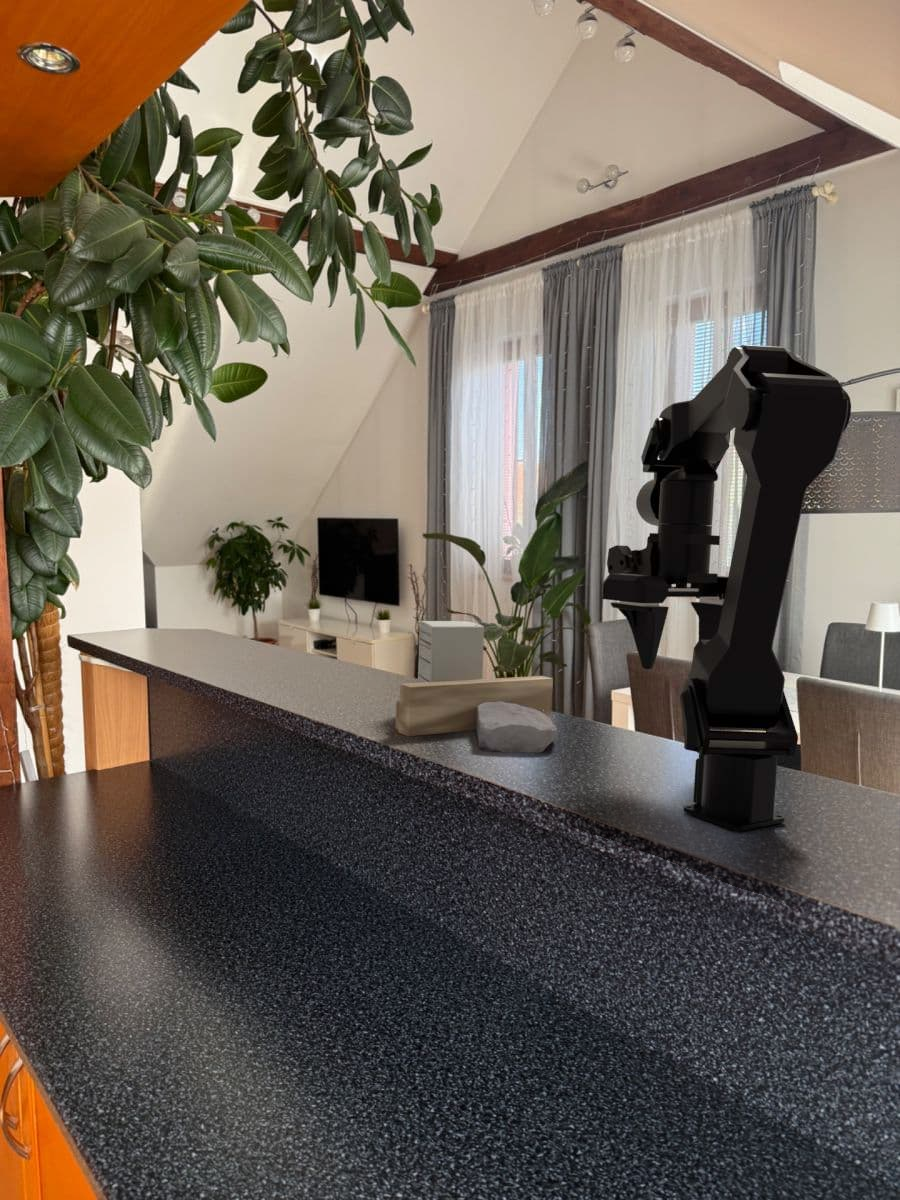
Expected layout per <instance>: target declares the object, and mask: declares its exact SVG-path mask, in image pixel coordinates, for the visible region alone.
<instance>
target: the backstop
mask: <svg viewBox="0 0 900 1200" xmlns="http://www.w3.org/2000/svg"><path fill="white" fill-rule="evenodd" d="M553 682H554V678H553V677H549V676H545V675H532V676H515V677H514V676H513V677H499V678H498V677H497V678H482V679H478V680H461V681H444V682H426V683H418V682H414V683H413V682H412V683H400V685H399V689H400V690H399V700H396V706H395V708H396V710H395V711H396V712H395V730H397V731H398V734H399V733H400V734H402V735H404V736H405V737H414V736H415V737H416V736H426V735H434V734H435V735H436V734H447V733H448V734H449V733H456V732H467V731H469V732H470V731H476V716H477V707H478V706H479V705H480V704H483V703H485V702H498V701H499V702H505V703H512V704H518V705H520V706H523V707H528V708H534V709H536V710H538V711H540V712H542V713H544V714H545V715H546V716H548V717H549V718H550V720H551V721H552V704H553V686H554V685H553V684H554V683H553ZM543 710H544V711H543Z"/></svg>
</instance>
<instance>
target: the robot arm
mask: <svg viewBox="0 0 900 1200" xmlns="http://www.w3.org/2000/svg"><path fill="white" fill-rule="evenodd" d="M851 412H852V402H851V397H850V395H849V393H848V392H847V391H846V390H845V389H844V388H843V387H842V386H841V384H840V381H839V380H838V379H837V378H836V377H834V376H832V375H831V374H830V373H828V372H827V371H825V370H823V369H821V368H818V367H815V366H814V365H811V364H809V363H807V362H805V361H804V360H803V361H802V360H800V359H799V358H798V357H797V356H796V354H795V353H794V352H793V351H792V350H789V349H786V348H785V347H783V346H776V345H775V346H773V345H771V346H770V345H757V344H756V345H755V344H742V345H740V346H734V347H732V348H731V350H730V351H729V353H728V356H727V358H726V363H725V364H724V365H723V367H721V369H720V370H719V371H717V372H716V373H715V375H714V376H713V377H712V378H711V379H710V381H708V383H707V384H706V385H705V386H703V388H702V389H701V390H700V391H699V392H698V393H697V394H696V396H695V397H694V398H692V399H690V400H685V401H680V402H678V401H677V402H674V403H672V404H670V405H668V406H667V407H665V408H664V409H663V410H662V411H661V413H660V414H659V417H656V418H655V419H654V421H653V423H652V424H653V425H652V427H650V429H649V432H648V434H647V438H646V440H645V444H644V446H643V447H644V448H643V450H642V454H641V457H640V459H641V464H642V472H643V473H653V479H650V480H649V481H647V482H645V484H644V485H642V486H641V488H640V489H639V491H638V494H637V496H636V500H635V501H636V502H635V505H636V509H637V512H638V514H639V516H640V517H641V519H642V520H643V521H644V522H646V523H647V524H649V525H652V526H655V527H657V533H656V532H652V533H651V532H650V533H649V536H647V539H646V547H645V548H642V549H633V550H631V548H630V547H629V546H628V545H619V544H617V545H614V546H612V547H610V548H608V552H607V553H608V554H607V559H606V565H607V573H608V575H607V576H606V578H605V579H603V583H602V598H601V599H602V600H606V601H612V602H610V606H611V607H612V608H614V609H618V610H619V612H620V613H621V614H622V615H623V616H624V617H625V618H626V620H627V622H628V625H629V627H630V630H631V633H632V635H633V636H632V637H633V639H634V643H635V647H636V650H637V652H638V653H637V654H638V656H639V661H640V664H641V667H642V669H644V670H652V669H653V667H654V665H655V662H656V659H657V655H658V651H659V648H660V643H661V640H662V636H663V631H664V628H665V624H666V620H667V615H668V613H669V606H662V605H660V604H663V603H664V602H665V601H666V599H667V598H696V599H699V601H690V605H691V607H692V608H693V609H694V611H695V613H696V615H697V617H698V641H697V643H696V644H695V646H694V647H693V653H692V661H691V667H690V671H689V673H688V675H687V679H686V680H685V681H684V685H683V688H682V690H681V693H680V696H679V700H680V707H681V715H682V717H681V718H682V734H683V737H684V743H683V744H684V745H683V748H684V749H685V751H691V752H694V753H695V752H697V754H698V758H696V759H695V768H694V782H693V784H694V786H693V798H692V799H693V802H694V803H693V804H688V805H684V806H683V810H682V811H683V812H684V813H687V814H689V815H692V816H694V817H697V818H700V819H702V820H706V821H708V822H711V823H713V824H716V825H718V826H721V827H724V828H727V829H730V830H733V831H736V832H743V831H748V830H753V829H758V828H763V827H767V826H771V825H772V826H773V825H776V824H783V823H785V820H786V817H785V815H782V814H778V813H776V812H775V800H776V799H775V798H776V787H777V786H776V784H777V770H778V759H779V758H778V757H786V758H794V757H795V754H796V750H797V745H798V742H799V741H798V740H799V735H798V733H797V729H796V726H795V724H794V723H795V722H794V720H793V717H792V713H791V710H790V706H789V704H788V700H787V697H786V694H785V691H784V690H785V689H784V688H785V681H786V678H785V676H784V673H783V671H782V668H781V665H780V664H779V662H778V659H777V657H776V655H775V652H774V649H773V646H774V642H775V641H774V640H775V636H776V632H777V627H778V623H779V617H780V613H781V608H782V605H783V599H784V595H785V590H786V587H787V586H786V585H787V581H788V580H787V579H788V575H789V571H790V567H791V562H792V557H793V553H794V548H795V543H796V538H797V535H798V529H799V526H800V525H799V524H800V520H801V516H802V512H803V507H804V501H805V497H806V492H807V490H808V488H810V486H811V485H812V484H813V482H815V481H816V480H817V478H819V476H821V474H823V472H824V471H825V470H826V469H827V468H828V467H829V466H830V464H832V462H834V460H835V458H836V455H837V452H838V448H839V446H840V442H841V439H842V436H843V433H844V432H845V431H846V429H847V427H848V425H849V424H850V418H851ZM732 430H734V434H733V446H734V450H735V452H736V454H737V456H738V458H739V460H740V463H741V465H742V467H743V470H744V473H745V474H746V479H745V485H744V486H745V487H744V491H743V492H744V493H743V497H742V503H741V508H740V514H739V518H738V522H737V523H738V524H737V529H736V535H735V540H734V544H733V550H732V555H731V561H730V566H729V571H728V572H729V573H728V575H718V573H711V572H710V565H711V551H712V549H711V548H712V545H713V546H720V542H721V541H720V540H721V536H720V535H712V533H713V531H712V530H713V518H714V516H713V515H714V502H715V501H714V498H715V488H716V487H715V485H716V484H715V482H717V481H718V479H719V474H718V472H717V469H718V468H719V465H720V463H721V462H722V460H723V458H724V456H725V454H726V452H727V451H728V450H729V448H730V440H731V431H732ZM688 584H690V586H688ZM673 585H674V586H673ZM613 601H614V602H613ZM615 601H617V602H615Z"/></svg>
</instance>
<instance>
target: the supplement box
mask: <svg viewBox="0 0 900 1200" xmlns="http://www.w3.org/2000/svg"><path fill="white" fill-rule="evenodd" d="M418 640H419V641H418V644H419V645H418V669H417V670H418V672H417V683H426V682H444V681H461V680H478V679H483V667H484V663H483V662H484V647H485V646H484V643H485V641H484V640H485V627H484V626H483V625H480V624H477V623H475V622H471V621H467V620H466V621H465V620H462V621H461V620H460V621H459V620H420V621H419V638H418Z"/></svg>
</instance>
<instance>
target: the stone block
mask: <svg viewBox="0 0 900 1200" xmlns="http://www.w3.org/2000/svg"><path fill="white" fill-rule="evenodd" d="M558 729H559V728H558V726H556V725H555V724H554V723H553V721H552V719H551V720H550V718H549V717H548V716H546V715H545V714H544V713H542V712H540V711H538V710H536V709H534V708H528V707H523V706H520V705H518V704H512V703H505V702H499V701H498V702H485V703H483V704H480V705H479V706H478V707H477V716H476V730H475V731H476V736H477V740H478V745H479V747H480V749H484V750H485V752H500V753H502V752H508V753H509V752H510V753H511V752H523V753H533V754H535V753H537V754H538V753H539V754H541V753H542V752H543V753H544V751H545V750H546V748H548V746H549V745H551V744H552V742H553V740H555V739H556V737H557V734H558Z"/></svg>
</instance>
